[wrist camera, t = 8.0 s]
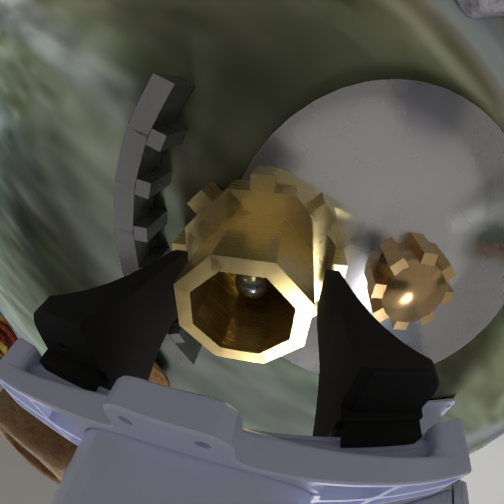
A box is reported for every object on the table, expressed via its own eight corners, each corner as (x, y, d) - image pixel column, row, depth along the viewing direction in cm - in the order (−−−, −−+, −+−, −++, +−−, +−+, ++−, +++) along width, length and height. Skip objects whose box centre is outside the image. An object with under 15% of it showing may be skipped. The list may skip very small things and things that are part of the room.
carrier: (454, 373, 18) (465, 408, 15) (160, 344, 21) (141, 381, 18) (551, 146, 8) (590, 163, 5) (130, 64, 11) (81, 60, 8)
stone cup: (101, 283, 19) (-16, 436, 6) (192, 381, 24) (137, 527, 11) (41, 322, 25) (-28, 412, 12) (107, 390, 29) (59, 482, 16)
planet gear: (326, 318, 16) (327, 392, 12) (189, 298, 17) (155, 362, 13) (358, 179, 12) (389, 226, 8) (181, 161, 13) (119, 196, 9)
